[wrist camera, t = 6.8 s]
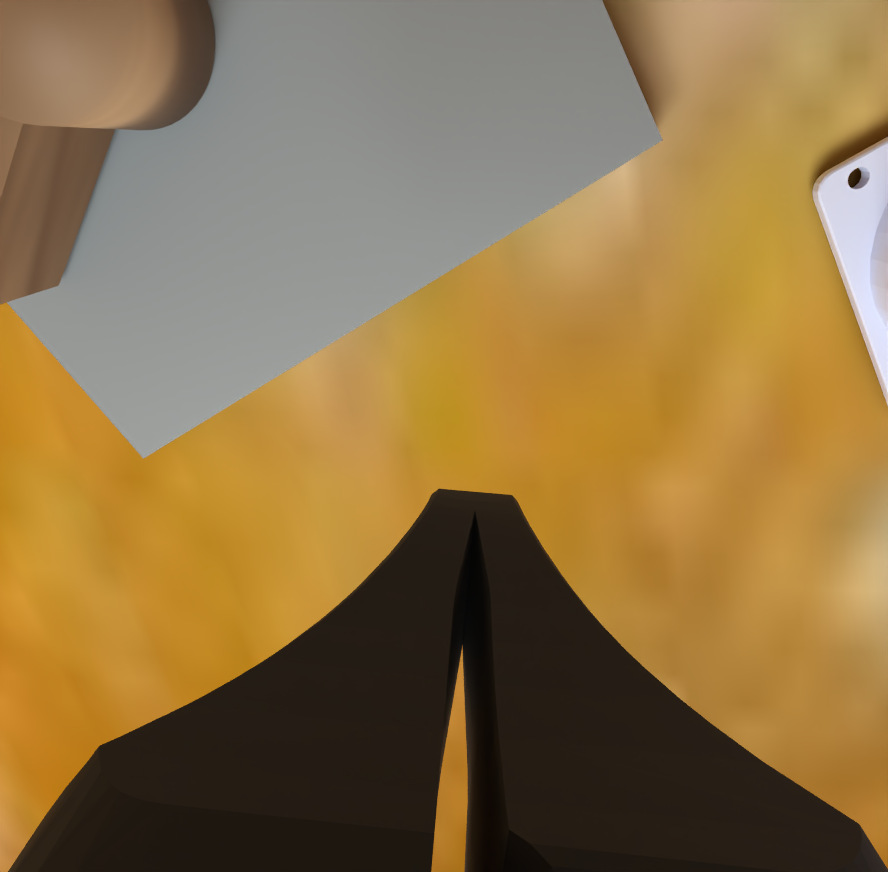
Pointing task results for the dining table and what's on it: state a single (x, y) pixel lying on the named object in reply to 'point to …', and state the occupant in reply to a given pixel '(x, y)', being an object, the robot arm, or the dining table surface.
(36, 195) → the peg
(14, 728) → the dining table surface
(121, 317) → the grey board
